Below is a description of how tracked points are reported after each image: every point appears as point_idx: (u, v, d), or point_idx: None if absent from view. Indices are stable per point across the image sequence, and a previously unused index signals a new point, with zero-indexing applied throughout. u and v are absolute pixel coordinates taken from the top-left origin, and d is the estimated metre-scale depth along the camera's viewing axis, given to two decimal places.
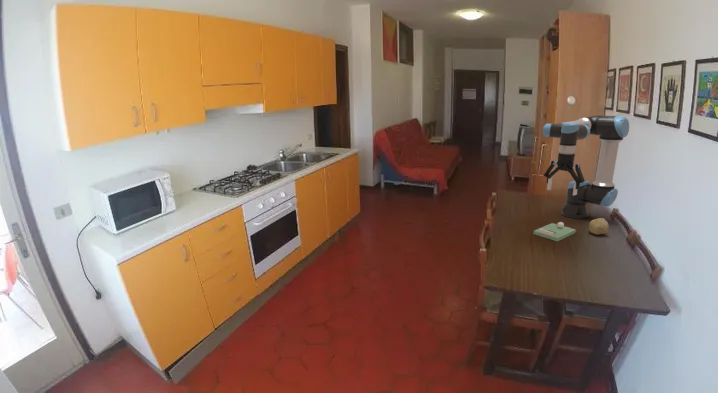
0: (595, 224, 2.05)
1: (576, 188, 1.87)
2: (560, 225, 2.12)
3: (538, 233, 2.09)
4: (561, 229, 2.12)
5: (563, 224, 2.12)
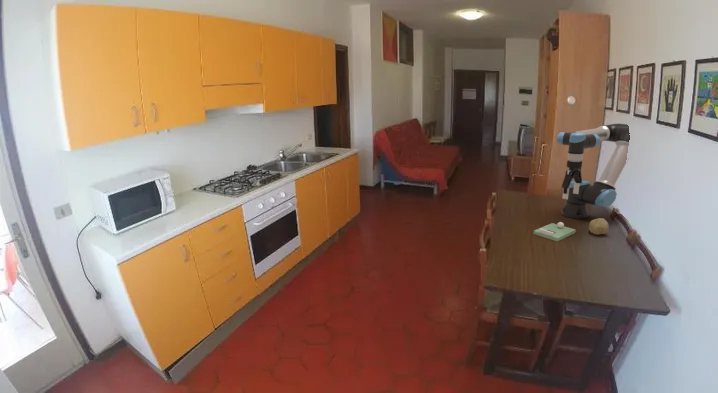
0: (595, 224, 2.05)
1: None
2: (560, 225, 2.12)
3: (538, 233, 2.09)
4: (561, 229, 2.12)
5: (563, 224, 2.12)
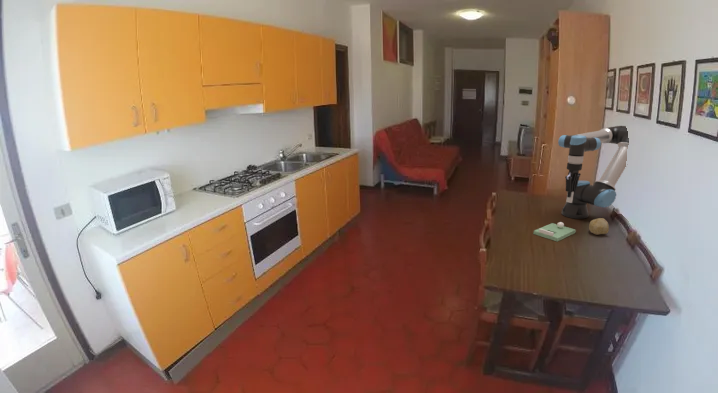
0: (595, 224, 2.05)
1: None
2: (560, 225, 2.12)
3: (538, 233, 2.09)
4: (561, 229, 2.12)
5: (563, 224, 2.12)
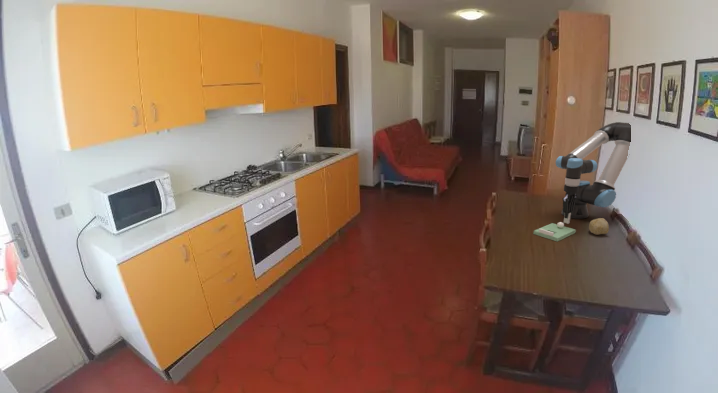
0: (595, 224, 2.05)
1: (565, 217, 2.17)
2: (560, 225, 2.12)
3: (538, 233, 2.09)
4: (561, 229, 2.12)
5: (563, 224, 2.12)
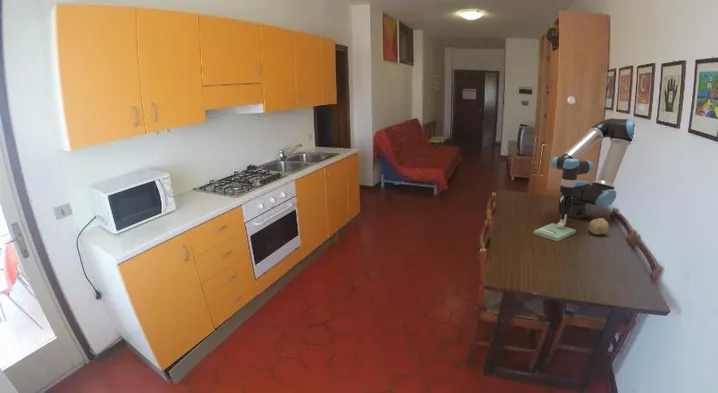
0: (595, 224, 2.05)
1: (561, 218, 2.14)
2: (560, 225, 2.12)
3: (538, 233, 2.09)
4: (561, 229, 2.12)
5: (563, 224, 2.12)
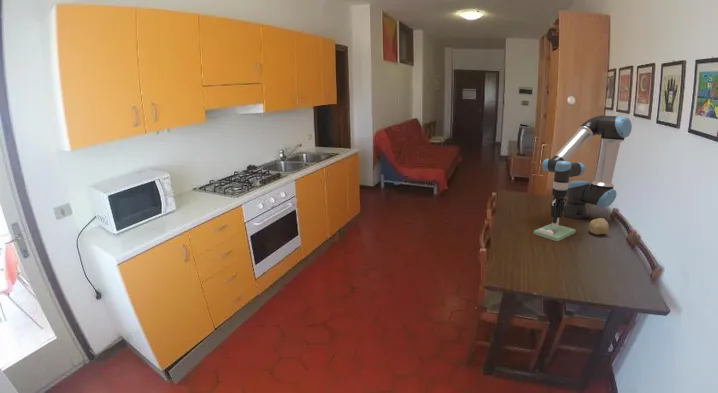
0: (595, 224, 2.05)
1: (553, 221, 2.10)
2: None
3: (538, 233, 2.09)
4: (561, 229, 2.12)
5: None
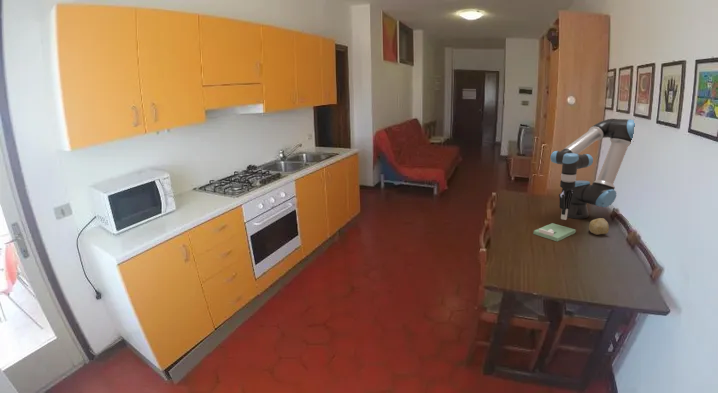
0: (595, 224, 2.05)
1: (562, 213, 2.13)
2: None
3: (538, 233, 2.09)
4: (561, 229, 2.12)
5: (553, 231, 2.07)
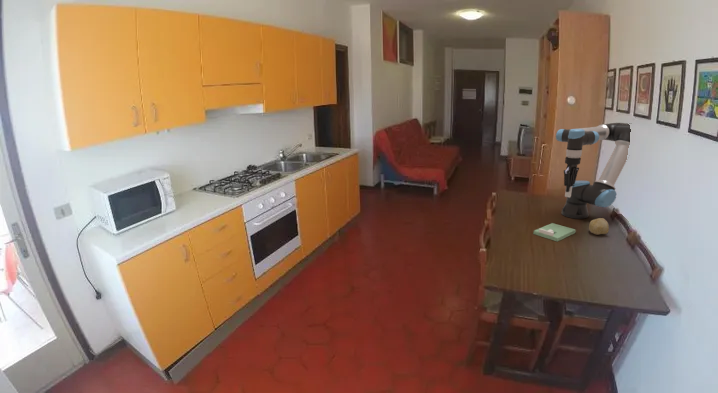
0: (595, 224, 2.05)
1: (566, 190, 2.10)
2: None
3: (538, 233, 2.09)
4: (561, 229, 2.12)
5: (553, 232, 2.07)
